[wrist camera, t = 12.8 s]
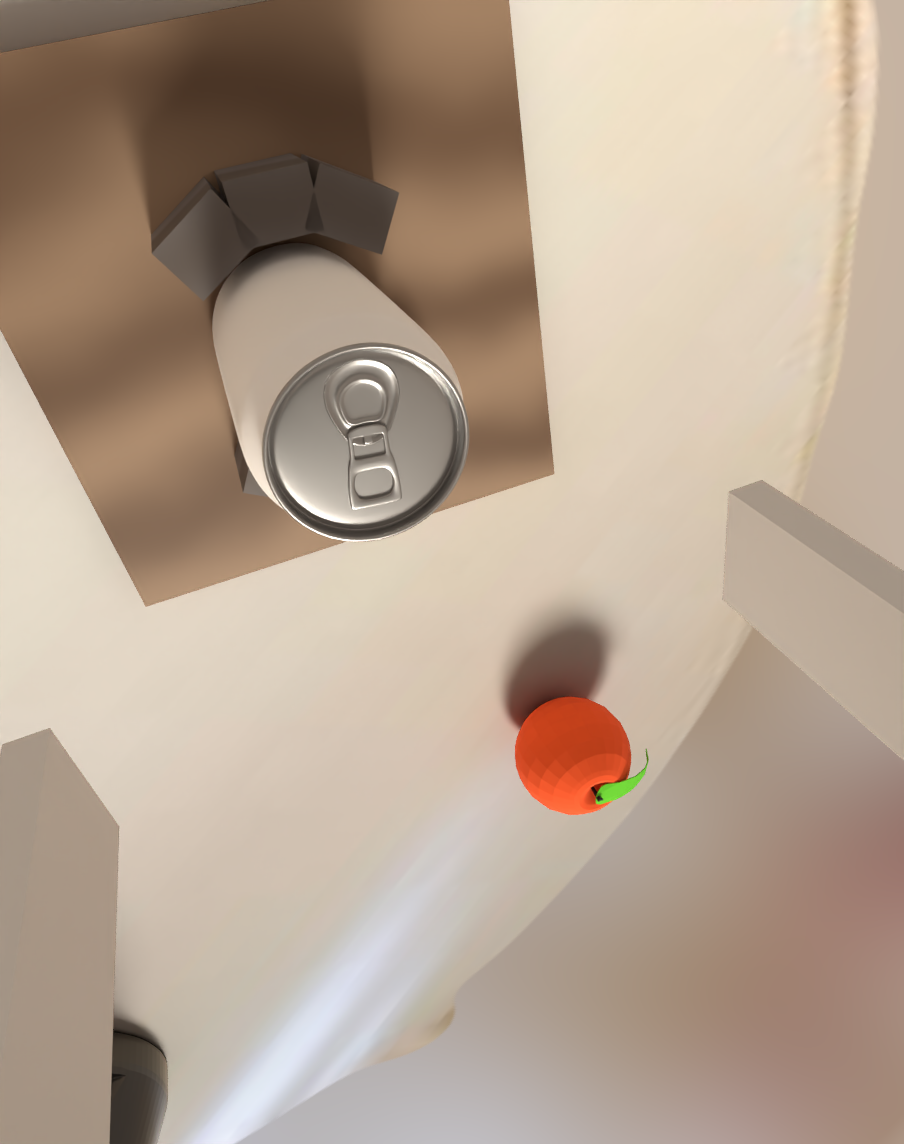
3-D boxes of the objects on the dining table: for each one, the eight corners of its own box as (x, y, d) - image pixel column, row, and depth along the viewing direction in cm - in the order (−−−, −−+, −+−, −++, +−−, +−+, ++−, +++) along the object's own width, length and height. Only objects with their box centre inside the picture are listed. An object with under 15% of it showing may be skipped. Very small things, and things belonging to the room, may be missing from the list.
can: (367, 229, 28) (479, 306, 19) (386, 394, 32) (488, 528, 23) (191, 252, 27) (217, 348, 17) (232, 422, 31) (272, 578, 21)
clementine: (617, 659, 48) (681, 738, 42) (604, 738, 51) (661, 819, 46) (499, 686, 45) (550, 773, 40) (495, 766, 49) (540, 856, 44)
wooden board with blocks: (544, 464, 38) (587, 506, 34) (146, 592, 35) (145, 654, 31) (491, -41, 26) (548, -60, 22) (-120, 78, 23) (-172, 79, 19)
